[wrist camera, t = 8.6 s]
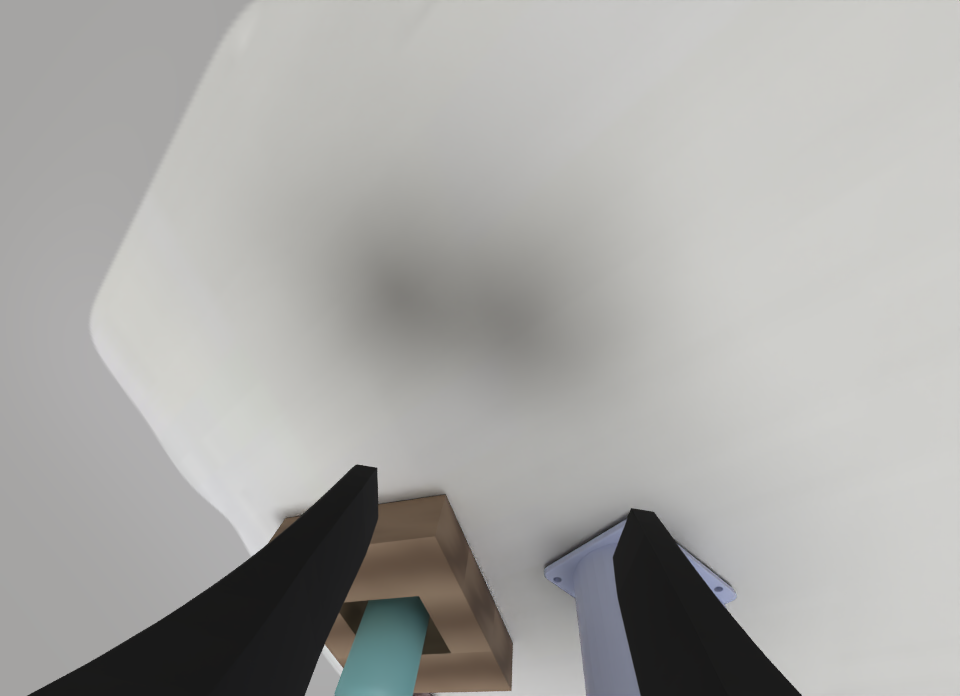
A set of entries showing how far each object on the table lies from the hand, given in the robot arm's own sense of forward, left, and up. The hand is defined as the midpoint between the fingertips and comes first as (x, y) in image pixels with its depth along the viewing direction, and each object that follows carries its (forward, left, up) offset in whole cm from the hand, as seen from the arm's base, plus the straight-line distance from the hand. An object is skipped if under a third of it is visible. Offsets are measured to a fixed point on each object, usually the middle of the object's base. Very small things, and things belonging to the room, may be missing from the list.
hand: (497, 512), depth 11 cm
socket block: (-7, +19, -9) cm, 22 cm away
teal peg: (-7, +19, -9) cm, 22 cm away
